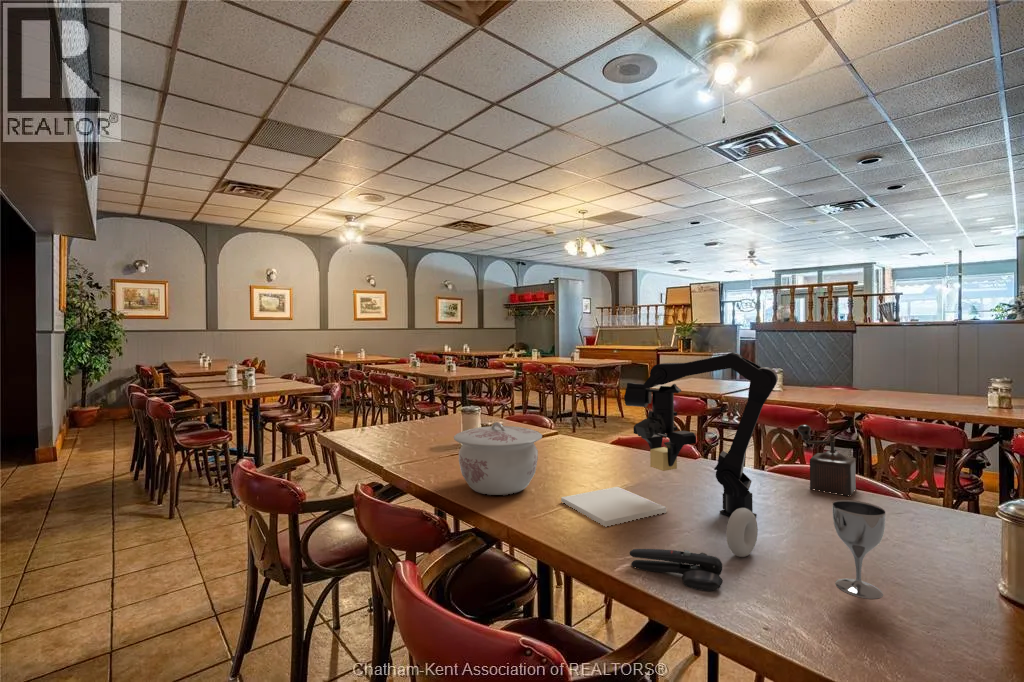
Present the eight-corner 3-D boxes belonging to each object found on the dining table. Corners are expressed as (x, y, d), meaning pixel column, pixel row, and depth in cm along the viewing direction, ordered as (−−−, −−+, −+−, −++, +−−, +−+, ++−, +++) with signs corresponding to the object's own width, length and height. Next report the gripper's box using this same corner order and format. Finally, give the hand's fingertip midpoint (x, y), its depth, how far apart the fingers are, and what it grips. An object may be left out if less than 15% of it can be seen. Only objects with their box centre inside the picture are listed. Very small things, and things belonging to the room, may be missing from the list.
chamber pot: (528, 508, 132) (527, 433, 132) (438, 499, 141) (437, 428, 141) (553, 479, 159) (552, 416, 158) (476, 472, 168) (475, 413, 167)
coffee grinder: (857, 488, 146) (857, 428, 146) (850, 497, 138) (850, 434, 138) (799, 478, 157) (798, 422, 156) (789, 486, 149) (789, 427, 148)
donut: (744, 545, 107) (744, 501, 107) (760, 551, 105) (760, 505, 105) (723, 560, 101) (722, 512, 101) (740, 565, 98) (739, 516, 98)
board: (666, 512, 128) (666, 507, 128) (605, 527, 119) (605, 521, 119) (617, 491, 146) (617, 486, 146) (561, 502, 137) (561, 497, 137)
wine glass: (863, 577, 93) (862, 499, 93) (897, 599, 85) (897, 514, 85) (822, 578, 93) (822, 500, 93) (853, 601, 85) (853, 515, 85)
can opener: (726, 581, 93) (726, 551, 93) (720, 597, 87) (720, 566, 87) (635, 559, 102) (635, 532, 102) (624, 573, 96) (624, 545, 96)
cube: (676, 468, 134) (676, 450, 134) (663, 471, 132) (663, 452, 132) (663, 464, 139) (663, 447, 139) (650, 466, 136) (650, 449, 136)
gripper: (618, 406, 140) (619, 460, 140) (665, 415, 123) (666, 476, 123) (648, 403, 145) (648, 455, 145) (697, 411, 128) (697, 470, 128)
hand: (663, 463), depth 135 cm, fingers closed on cube, 5 cm apart
